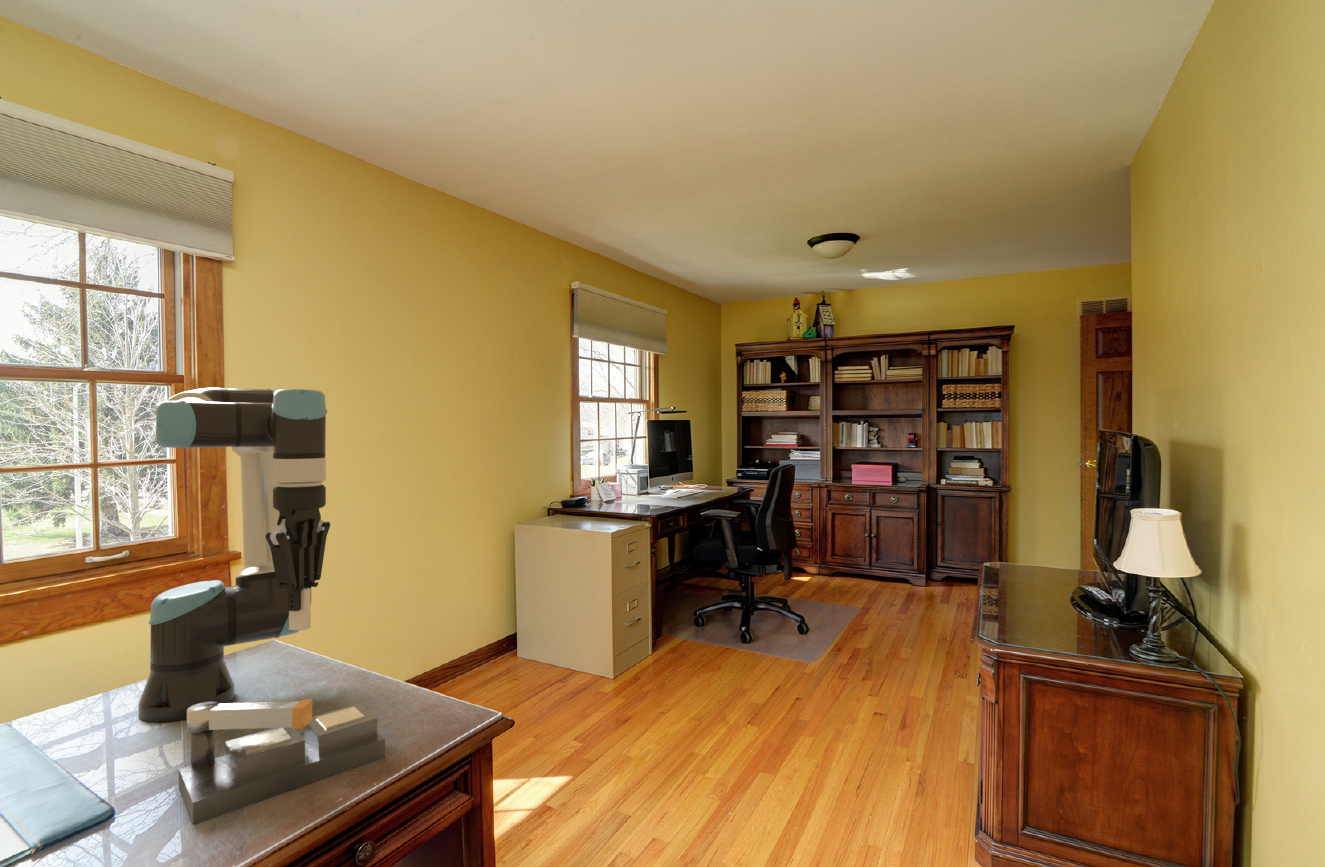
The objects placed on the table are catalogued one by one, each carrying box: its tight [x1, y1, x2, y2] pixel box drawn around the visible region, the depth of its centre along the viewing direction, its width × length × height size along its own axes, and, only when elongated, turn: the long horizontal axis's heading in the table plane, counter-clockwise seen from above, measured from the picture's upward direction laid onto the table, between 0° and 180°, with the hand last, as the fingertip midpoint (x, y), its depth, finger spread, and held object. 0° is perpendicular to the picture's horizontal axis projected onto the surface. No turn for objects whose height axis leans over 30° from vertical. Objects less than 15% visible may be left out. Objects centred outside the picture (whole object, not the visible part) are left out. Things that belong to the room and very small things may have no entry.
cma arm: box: [186, 698, 313, 734], centre depth 99 cm, size 18×4×3 cm, turn 95°
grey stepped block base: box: [178, 702, 386, 825], centre depth 102 cm, size 14×26×8 cm, turn 135°
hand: (299, 628), depth 104 cm, fingers closed
